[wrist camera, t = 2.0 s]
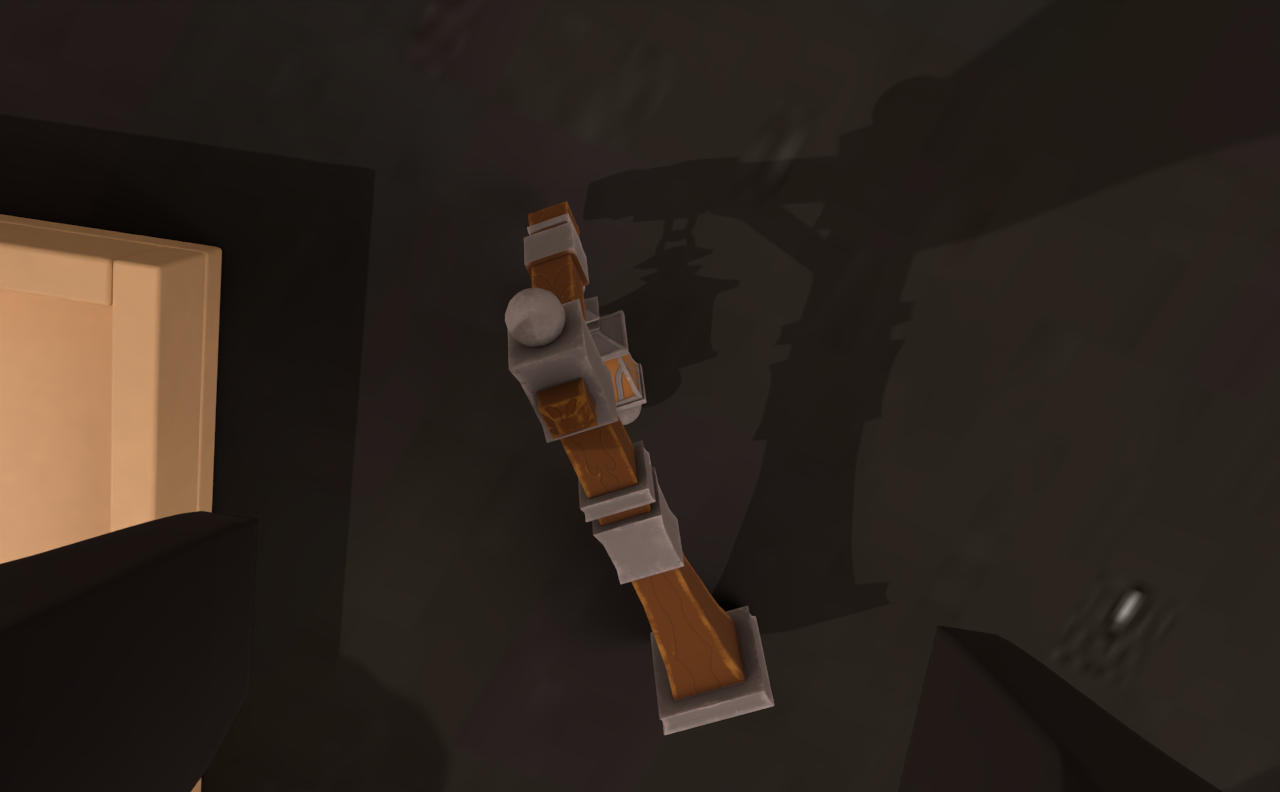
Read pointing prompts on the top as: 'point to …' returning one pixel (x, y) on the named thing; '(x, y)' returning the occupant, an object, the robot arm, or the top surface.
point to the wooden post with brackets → (625, 479)
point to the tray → (103, 382)
